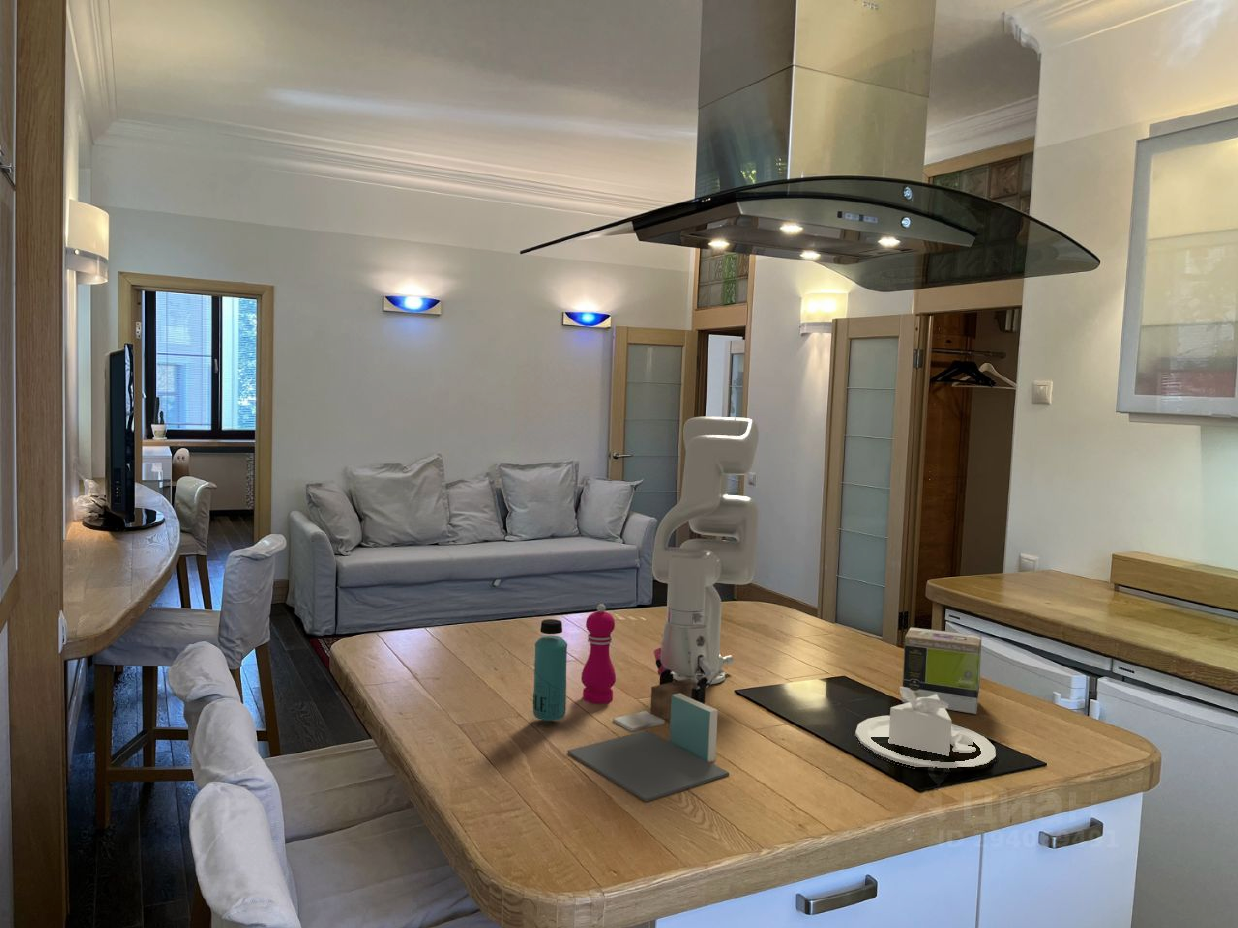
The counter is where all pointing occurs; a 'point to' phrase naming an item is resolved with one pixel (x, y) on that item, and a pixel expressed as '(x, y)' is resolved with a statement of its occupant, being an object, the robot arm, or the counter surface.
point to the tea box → (943, 667)
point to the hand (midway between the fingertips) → (681, 700)
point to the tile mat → (647, 765)
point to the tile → (693, 726)
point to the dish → (923, 733)
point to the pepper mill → (599, 658)
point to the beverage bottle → (550, 673)
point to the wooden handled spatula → (657, 706)
